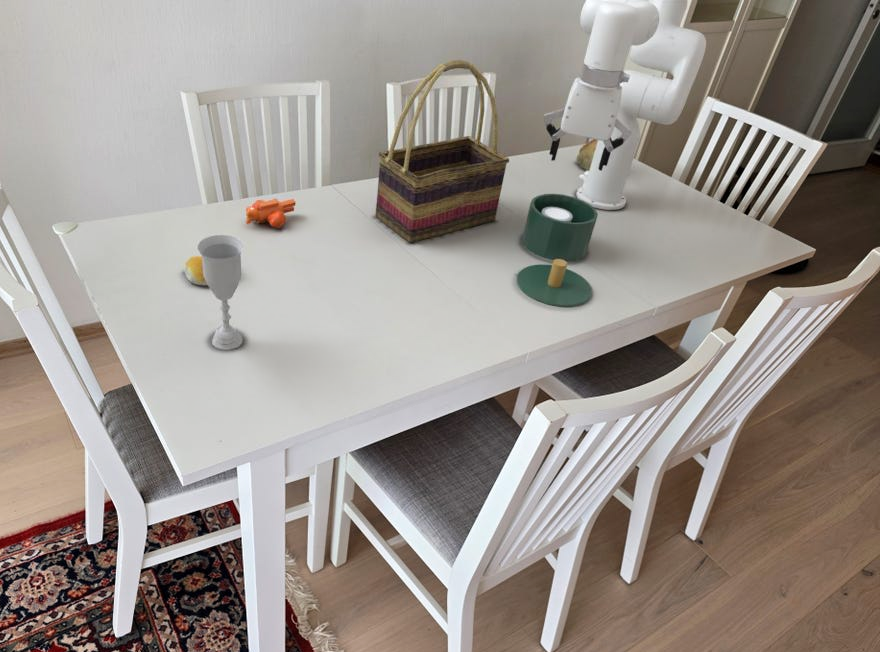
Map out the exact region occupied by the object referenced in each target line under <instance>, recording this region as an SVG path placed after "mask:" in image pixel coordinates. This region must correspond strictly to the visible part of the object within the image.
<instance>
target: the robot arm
mask: <svg viewBox="0 0 880 652" xmlns="http://www.w3.org/2000/svg"><path fill="white" fill-rule="evenodd" d="M687 8H688V0H648V1H646V0H585V2H584V3H583V6H582V9H581V12H580V17H579V24H580V28H581V29H582V31H583V32H584V34H585V33H586V34H587V35H589V39H588V45H587V48H586V51H585V55H584V60H583V64H582V66H581V67H582V68H581V70H580V74H579V77H576V78H575V79H574V81H573V83H572V85H571V88H570V91H569V92H568V93H569V94H568V96H567V100H566V103H565V106H564V107H563V108H562V107H561V108H559V109H555V110H552V111H549V112H546V113H544V115H543V121H544V124H545V128H546V131H547V132H548V134H549V136H550V137H551V140H552V142H551V145H550V150H549V154H548V155H550V156H551V160H550V161H551V162H554V161H556V158H557V155H558V150H559V146H560V142H561V137H563V136H564V135H566V134H567V135H571V136H575V137H581V138H585V139H590V140H594V139H595V140H598V142H597V146H596V149H595V153H594V156H593V160H592V163H591V167H590V170H589V171H587V170H585V171H584V173H581V174H580V175H579V177H578V178H579V180H581V181H582V185H581V186H579V187H578V188H577V191H576V198H578V199H580V200H583V201H585V202H587V203H588V204H590V205H591V206H593V207H594V208H595V209H599V210H607V211H615V210H616V211H617V210H620V209H622V208H624V207H625V206H626V204H627V198H626V197H625V196H624V195H623V193H624V189H625V186H626V183H627V180H628V178H629V174H630V171H631V168H632V164H633V161H634V158H635V155H636V152H637V149H638V146H639V143H640V139H641V128H640V125H639V122H638V119H641V120H645V121H649V122H652V123H656V124H660V125H665V126H666V125H668V126H669V125H673V124H674V123H675V122H676V121H677V120H678V119H679V117H680V116H681V114H682V111H683V110H684V107H685V105H686V102H687V100H688V97H689V95H690V92H691V90H692V87H693V85H694V83H695V81H696V78H697V75H698V72H699V70H700V68H701V65H702V62H703V59H704V56H705V53H706V48H707V39H706V36H705V35H704V34H703V33H702V32H700V31H697V30H694V29H690V28H685V27H681V23H682V21H683V18H684V16H685V13H686V10H687ZM629 53H630V54H629ZM628 56H630V61H632V62H633V64H635V65H637V66H639V67H643V68H646V69H649V70H654V71H658V72H663V73H666V74H670V75H671V76H672V77H673V78H672V79H671V78H666V77H663V76H658V75H655V74H652V73H647V72H643V71H639V70H634V69H626V70H625V66H626V63H627V60H628ZM561 117H562V118H561ZM558 118H561V122H560V126H559V127H558V128H556V126H555V125H554V123H553V120H555V119H558Z"/></svg>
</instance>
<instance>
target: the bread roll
mask: <svg viewBox="0 0 880 652" xmlns="http://www.w3.org/2000/svg"><path fill="white" fill-rule="evenodd" d="M183 273H184V275H185V276H186V279H187V280H188V281H189V282H190V283H191V284H194V285H197V286H198V285H199V286H208V284H207V282H206V280H205V278H204V275H203V264H202V256H200V255H199V256H197V255H196V256H191V257H190V258H189V259H188V260H187V261H185V266H184V272H183Z"/></svg>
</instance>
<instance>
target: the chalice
mask: <svg viewBox="0 0 880 652" xmlns="http://www.w3.org/2000/svg"><path fill="white" fill-rule="evenodd" d="M197 250H198V252H199V254H200V255H201V257H202V264H203V275H204V278H205V280H206V282H207V284H208V285H207V287H208V288H209V289H210V290H211V292H212V294H213V295H214V297H215V299H217V300H219V301H221V305H220V307H219V309H220V310H221V312H222V314H221V315H220V319H221V320H222V322H223V324H222V325H220V326H218V327H217V329H215V333H214V335H213V337H212V339H211V343H212V345H213V346H214V347H215V348H216V349H219V350H223V351H229V350H230V351H231V350H235V349H236V348H239V347H240V346H241V345H242V343H243V337H242V336H241V335H242V334H241V333H240V332H239V329H238V328H237V327H235V326H234V325H233V324H230V319H231V318H232V315H231V314H229V313H230V312H229V310H230V309H231V306H230V305H229V302H228V300H231V299H232V298H233V296H234V294H235V292H236V290H237V288H238V286H239V284H240V281H241V278H242V255H241V253H242V252H243V250H244V243H243V242H242V240H240V239H239V238H237V237H235V236H232V235H227V234H216V235H211V236H208V237H205V238H203V239H202V240H201V241H199V243H198V244H197Z"/></svg>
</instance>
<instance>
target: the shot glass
mask: <svg viewBox="0 0 880 652" xmlns="http://www.w3.org/2000/svg"><path fill="white" fill-rule="evenodd" d="M541 213H542V214H544V215H545V216H547V217H550V218H552V219H555V220H559V221H563V222H571V220H572V217H573V216H572V214H571V213H570V212H569V211H567V210H565V209H562V208H558V207H546V208H543V210H542V212H541Z"/></svg>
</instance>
